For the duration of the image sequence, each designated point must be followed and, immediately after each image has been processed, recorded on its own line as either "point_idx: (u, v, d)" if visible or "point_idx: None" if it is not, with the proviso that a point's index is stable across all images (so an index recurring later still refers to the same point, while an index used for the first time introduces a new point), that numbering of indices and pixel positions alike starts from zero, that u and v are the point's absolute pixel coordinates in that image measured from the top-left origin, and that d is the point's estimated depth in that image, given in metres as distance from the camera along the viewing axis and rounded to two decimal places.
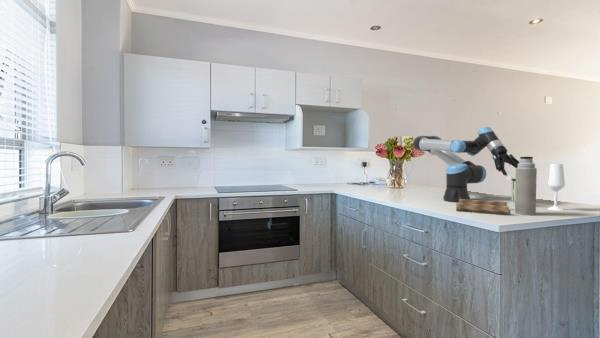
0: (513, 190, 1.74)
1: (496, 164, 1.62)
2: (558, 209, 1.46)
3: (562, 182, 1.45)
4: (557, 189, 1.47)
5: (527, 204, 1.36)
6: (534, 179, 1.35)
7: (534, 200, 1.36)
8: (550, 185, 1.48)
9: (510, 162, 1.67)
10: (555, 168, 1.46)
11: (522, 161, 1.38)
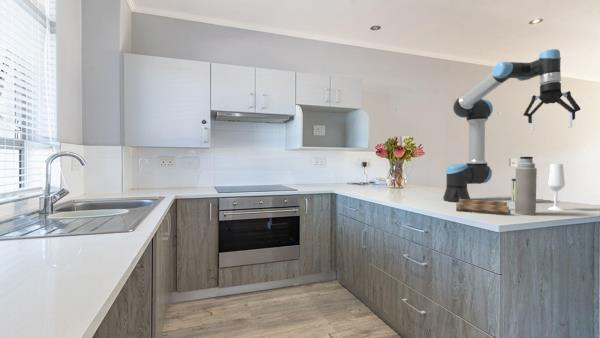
0: (513, 190, 1.74)
1: (526, 109, 1.40)
2: (558, 209, 1.46)
3: (562, 182, 1.45)
4: (557, 189, 1.47)
5: (527, 204, 1.36)
6: (534, 179, 1.35)
7: (534, 200, 1.36)
8: (550, 185, 1.48)
9: (559, 103, 1.33)
10: (555, 168, 1.46)
11: (522, 161, 1.38)
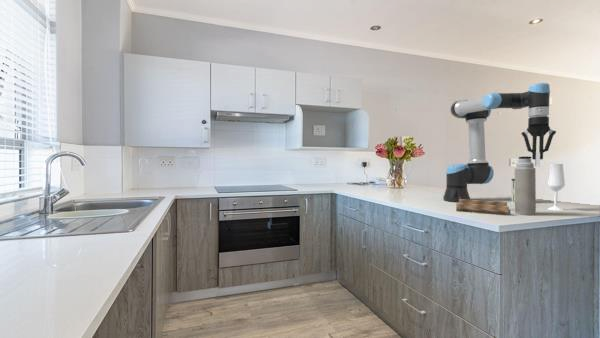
0: (513, 190, 1.74)
1: (526, 145, 1.39)
2: (558, 209, 1.46)
3: (562, 182, 1.45)
4: (557, 189, 1.47)
5: (527, 204, 1.36)
6: (533, 179, 1.35)
7: (534, 200, 1.36)
8: (550, 185, 1.48)
9: (539, 138, 1.36)
10: (555, 168, 1.46)
11: (521, 161, 1.38)
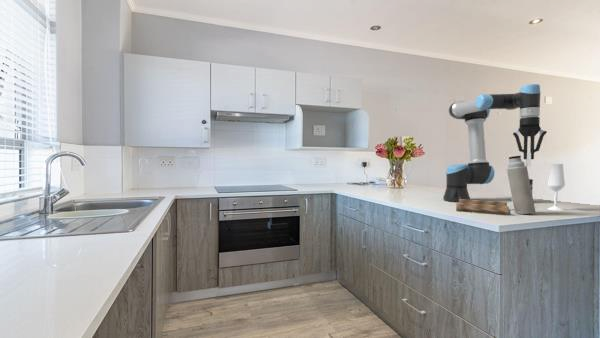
0: None
1: None
2: (558, 209, 1.46)
3: (562, 182, 1.45)
4: (557, 189, 1.47)
5: (525, 202, 1.36)
6: (526, 177, 1.37)
7: (531, 198, 1.36)
8: (550, 185, 1.48)
9: (530, 138, 1.37)
10: (555, 168, 1.46)
11: (511, 161, 1.40)
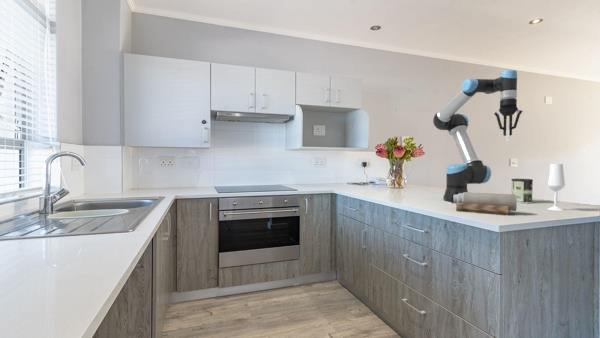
0: (513, 190, 1.74)
1: (498, 123, 1.62)
2: (558, 209, 1.46)
3: (562, 182, 1.45)
4: (557, 189, 1.47)
5: None
6: (474, 200, 1.45)
7: (498, 200, 1.40)
8: (550, 185, 1.48)
9: (509, 117, 1.59)
10: (555, 168, 1.46)
11: None
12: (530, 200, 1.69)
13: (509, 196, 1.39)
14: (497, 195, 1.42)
